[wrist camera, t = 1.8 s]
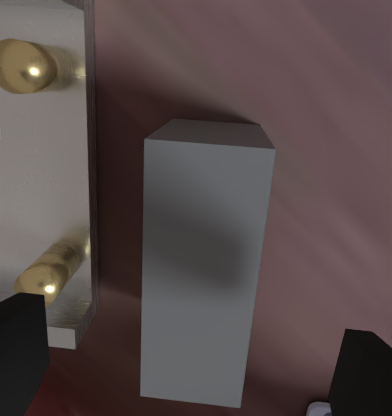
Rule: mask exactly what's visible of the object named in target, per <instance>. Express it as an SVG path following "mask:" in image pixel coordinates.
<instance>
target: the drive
mask: <svg viewBox="0 0 392 416" xmlns="http://www.w3.org/2000/svg"><path fill="white" fill-rule="evenodd" d="M275 152H276V149H275V147H274V146H273V144H272V143H271V141H270V139H269V138H268V136H267V135H266V133H265V132H264V130H263V129H262V127H261V126H260V125H256V124H243V123H230V122H216V121H203V120H189V119H176V118H173V119H172V120H170V121H169V122H167V123H166V124H165V125H163V126H162V127H160V128H159V129H158V130H156V131H155V132H153V133H152V134H151V135H149V136H148V137H146V138H145V139H144V187H143V253H142V318H141V384H140V396H143V397H152V398H160V399H168V400H176V401H185V402H193V403H201V404H210V405H218V406H226V407H235V408H240V406H241V399H242V391H243V384H244V377H245V370H246V363H247V355H248V348H249V341H250V334H251V326H252V319H253V312H254V305H255V297H256V290H257V283H258V276H259V268H260V261H261V254H262V247H263V239H264V232H265V225H266V218H267V210H268V203H269V196H270V189H271V181H272V174H273V167H274V160H275Z"/></svg>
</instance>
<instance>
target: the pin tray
mask: <svg viewBox="0 0 392 416" xmlns="http://www.w3.org/2000/svg"><path fill="white" fill-rule="evenodd" d="M19 292H24V293H32V294H41V295H44V296H45V309H46V321H47V334H48V346H52V347H60V348H68V349H76V348H77V346H78V344H79V342H80V341H81V339H82V337H83V335H84V334H85V332H86V330H87V328H88V327H89V325H90V323H91V321H92V319H93V318H94V316H95V314H96V312H97V311H98V309H99V266H98V214H97V161H96V109H95V57H94V4H93V0H0V302H1V301H3V300H5V299H7V298H9V297H11V296H13V295H15V294H17V293H19Z"/></svg>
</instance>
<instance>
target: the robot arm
mask: <svg viewBox="0 0 392 416" xmlns="http://www.w3.org/2000/svg"><path fill="white" fill-rule="evenodd" d="M49 363H50V358H49V346H48V334H47V321H46V309H45V296H44V295H41V294H32V293H24V292H19V293H17V294H15V295H13V296H11V297H9V298H7V299H5V300H3V301H1V302H0V416H23V415H24V413H25V412H26V410H27V408H28V407H29V405H30V403H31V401H32V399H33V397H34V395H35V393H36V391H37V389H38V387H39V385H40V383H41V380H42V378H43V376H44V374H45V372H46V369H47V367H48V365H49ZM328 398H329V403H324V402H314V403H312V404H310V405H309V407H308V410H307V414H306V416H392V348H391V347H390V346H389V345H388V344H386V343H385V342H384V341H383V340H382V339H381V338H380V337H378V336H377V335H376V334H375V333H373V332H370V331H362V330H353V329H345V333H344V337H343V341H342V344H341V348H340V352H339V356H338V360H337V364H336V368H335V372H334V375H333V379H332V383H331V387H330V391H329V395H328ZM329 412H331V413H329ZM326 413H328V414H326Z"/></svg>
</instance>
